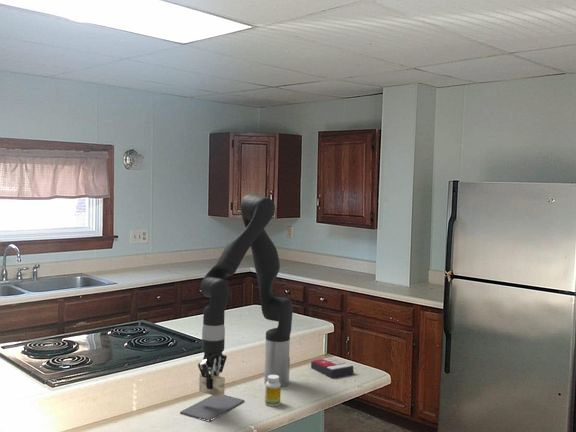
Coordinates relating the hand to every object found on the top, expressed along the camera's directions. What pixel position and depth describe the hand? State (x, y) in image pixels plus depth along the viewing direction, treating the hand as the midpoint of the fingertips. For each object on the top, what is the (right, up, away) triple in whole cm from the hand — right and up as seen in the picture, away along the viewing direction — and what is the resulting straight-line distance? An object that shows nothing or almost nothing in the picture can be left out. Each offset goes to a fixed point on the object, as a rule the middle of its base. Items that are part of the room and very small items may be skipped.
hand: (212, 387), depth 191 cm
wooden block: (0, -2, 0) cm, 2 cm away
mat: (0, -7, +2) cm, 7 cm away
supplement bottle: (+20, -8, +6) cm, 23 cm away
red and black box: (+43, -7, +43) cm, 61 cm away
